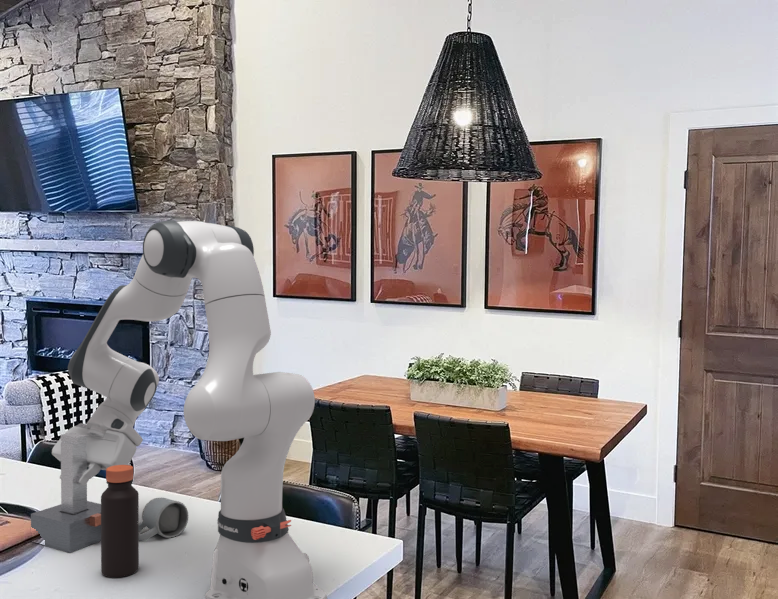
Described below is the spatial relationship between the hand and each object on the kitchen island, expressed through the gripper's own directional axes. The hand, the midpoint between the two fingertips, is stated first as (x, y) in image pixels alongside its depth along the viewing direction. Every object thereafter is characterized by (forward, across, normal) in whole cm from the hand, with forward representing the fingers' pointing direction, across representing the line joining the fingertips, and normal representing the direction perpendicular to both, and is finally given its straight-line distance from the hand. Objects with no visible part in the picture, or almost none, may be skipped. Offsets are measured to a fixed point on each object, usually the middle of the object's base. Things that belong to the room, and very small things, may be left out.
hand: (71, 482), depth 164 cm
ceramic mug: (+1, +13, +17) cm, 22 cm away
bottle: (+14, +22, +4) cm, 26 cm away
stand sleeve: (+8, 0, +9) cm, 12 cm away
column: (+8, 0, +8) cm, 11 cm away
